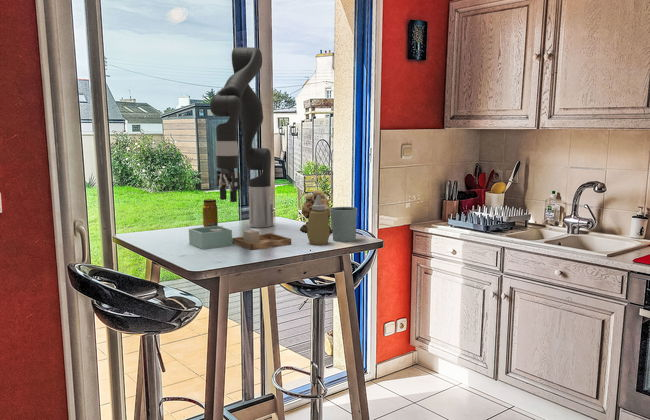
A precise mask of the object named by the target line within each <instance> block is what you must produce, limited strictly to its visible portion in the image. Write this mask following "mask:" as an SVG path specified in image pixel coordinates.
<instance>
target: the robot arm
mask: <svg viewBox="0 0 650 420" xmlns="http://www.w3.org/2000/svg"><path fill="white" fill-rule="evenodd" d="M231 66H232V70H233V74H231V75H230V76H229V77H228V79H227V80H226V82H225V84H224V86H223V88H221V89H220V90H219V91H217V92H216V93H215V94H214V95H213V96H212V97H211V100H210V102H209V108H210V109H209V110H210V112H211V114H212V115H213V116H215V117H220V118H221V117H222V118H223V117H228V120H227V121H226V122H223V123H220V124H217V126H216V127H215V129H216V130H215V133H216V134H215V135H216V136H215V137H216V142H215V143H216V145H215V158H216V159H215V160H216V163H215V164H216V168H217V170H216V174H215V175H216V176H215V177H216V180H215V182H216V187H217V188H218V189H219V199H220V201H225V200H227V187H228V189H229V202H231V203H237V202H238V193H237V192H238V190H241V181H240V179H241V178H240V172H239V171H235V169H238V168H239V146H238V145H239V144H238V134H237V133H238V124H239V121H240V124H241V130H242V131H241V132H242V138H243V156H244V165H245V168H246V169H247V170H248V171H262V172H261V173H260V174H259V175H258V176H256V177H253V178H250V179H249V180H248V203H249V205H248V206H249V208H248V209H249V215H248V216H249V217H248V218H249V227H250V228H259V229H260V228H261V229H262V228H268V227H269V228H270V227H272V226H274V206H273V205H274V204H273V203H272V199H271V198H272V197H271V196H272V194H271V193H272V191H271V189H272V186H271V182H272V180H271V179H272V178H271V177H272V174H271V169H272V168H271V167H272V153H271V150H270V148H264V147H263V148H261V147H258V148H255V147H253V142H254V139H255V137H256V135H257V132H258V131H259V130H260V128H261V125H262V123H263V121H264V112H263V103H262V101H261V99H260V98H259V96H258V94H257V93H256V91H254V90H253V88H252V87H251V86H250V83H251V82H252V81H253V79H254V78H255V77H256V76H257V75H258V73H259V72H260V71H261V69H262V66H263V54H262V51H261V50H260V49H259V48H258V47H249V46H248V47H247V46H244V47H243V46H242V47H241V46H240V47H239V46H238V47H234V48H233V49H232V51H231Z"/></svg>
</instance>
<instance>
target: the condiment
mask: <svg viewBox="0 0 650 420" xmlns="http://www.w3.org/2000/svg"><path fill="white" fill-rule="evenodd" d="M218 219H219V218H218V205H217V199H215V198H207V199H204V200H203V206H202V225H203V226H204V227H211V226H220V227H224V225H219V222H218V221H219V220H218ZM203 226H202V227H203Z"/></svg>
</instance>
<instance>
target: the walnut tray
mask: <svg viewBox="0 0 650 420" xmlns="http://www.w3.org/2000/svg"><path fill="white" fill-rule="evenodd" d="M232 245H236V246H238V247H241V248H244V249H246V250H250V251H256V250H257V251H258V250H262V249H270V248H276V247H284V246H290V245H291V246H292V238H290V237H286V236H282V235H279V234H275V233H271V232H269V233H268V232H267V233H261V234H260V243H254V244H251V243H248V242H245V241H244V236H239V237H232Z"/></svg>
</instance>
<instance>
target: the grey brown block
mask: <svg viewBox="0 0 650 420" xmlns="http://www.w3.org/2000/svg"><path fill="white" fill-rule="evenodd" d="M216 231H224V230H223V229H220V228H219V229H210V230H209V232H216Z"/></svg>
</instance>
